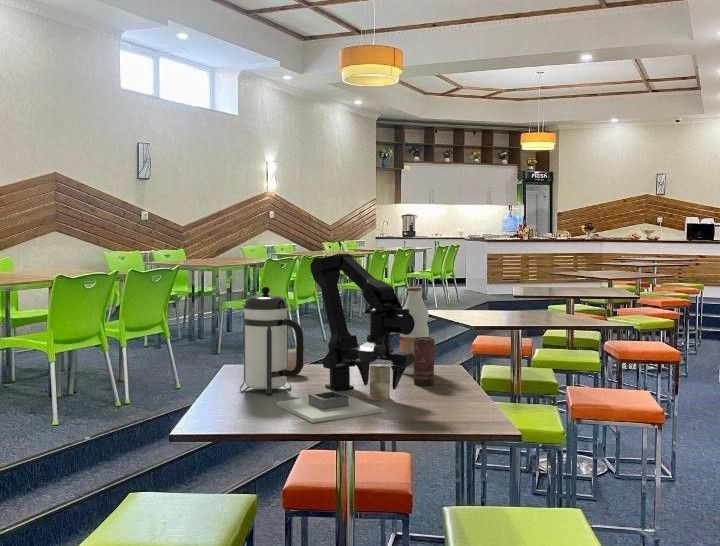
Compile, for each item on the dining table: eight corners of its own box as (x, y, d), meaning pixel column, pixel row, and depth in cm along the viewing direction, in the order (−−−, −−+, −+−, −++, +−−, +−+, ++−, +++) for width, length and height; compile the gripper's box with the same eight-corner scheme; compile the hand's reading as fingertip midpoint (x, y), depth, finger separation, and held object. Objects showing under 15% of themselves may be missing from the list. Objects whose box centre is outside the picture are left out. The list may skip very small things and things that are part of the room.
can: (433, 386, 211) (434, 339, 210) (412, 385, 212) (412, 339, 211) (435, 382, 217) (436, 336, 216) (414, 381, 218) (415, 336, 217)
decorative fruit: (284, 379, 219) (284, 347, 219) (273, 375, 226) (273, 344, 226) (311, 376, 224) (311, 345, 224) (299, 372, 231) (299, 341, 231)
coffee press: (240, 398, 194) (240, 289, 193) (238, 385, 210) (238, 284, 208) (303, 395, 198) (303, 288, 196) (296, 383, 213) (297, 284, 212)
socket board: (276, 405, 186) (276, 401, 186) (342, 396, 197) (342, 393, 197) (312, 422, 169) (312, 418, 169) (381, 412, 180) (382, 408, 180)
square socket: (308, 403, 184) (308, 394, 184) (333, 400, 188) (333, 390, 188) (322, 409, 178) (322, 400, 178) (348, 406, 182) (348, 396, 182)
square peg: (369, 398, 195) (370, 366, 194) (377, 396, 198) (377, 364, 197) (382, 400, 192) (382, 368, 192) (389, 398, 196) (390, 365, 195)
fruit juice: (410, 376, 226) (411, 288, 224) (394, 371, 234) (394, 286, 232) (434, 373, 231) (435, 287, 229) (417, 368, 239) (418, 285, 237)
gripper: (335, 331, 192) (335, 388, 193) (395, 337, 182) (394, 397, 183) (358, 327, 202) (357, 381, 203) (415, 332, 192) (415, 389, 193)
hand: (379, 387), depth 195 cm, fingers open, 9 cm apart
